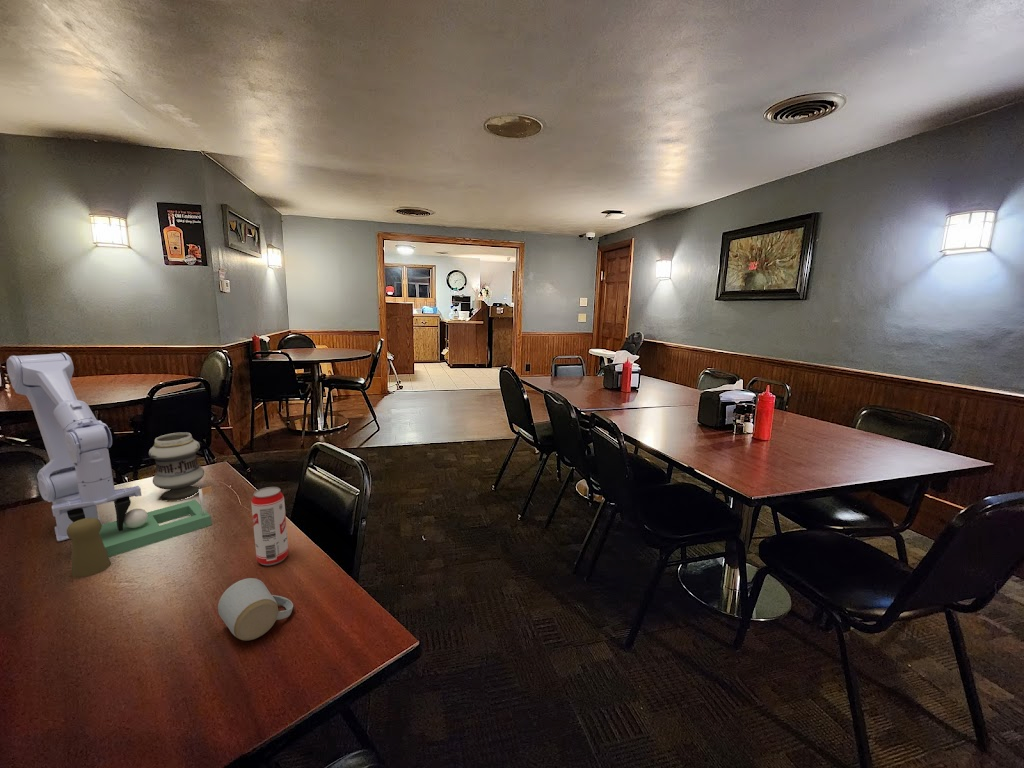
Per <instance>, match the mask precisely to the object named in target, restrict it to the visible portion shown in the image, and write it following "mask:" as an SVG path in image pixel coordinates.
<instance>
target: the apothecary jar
mask: <svg viewBox="0 0 1024 768" xmlns="http://www.w3.org/2000/svg"><path fill="white" fill-rule="evenodd" d="M200 449H201V445H200V442H199V441H197V440H196V439H194V438H193V436H192V434H191V433H190V432H187V431H186V432H180V431H179V432H173V433H167V434H164V435H162V434H161V435H160V436H158V437H155V439H154V443H153V445H152V447H150V449H149V451H148V456H149V457H150V458H151V459H153V460H155V461H154V463H155V468H156V473H155V474H154V476H153V478H152V484H153V485H154V486H155V487H156V488H158V489H161V490H166V491H165V492H163V493H162V494H161V495H160V496H159V499H160V501H166V502H169V501H171V502H178V501H177V500H180V501H182V500H181V499H185V498H187V497H190V496H192V495H194V494H195V493H197V492H198V491H199V490H198V489H200V488H201V487H200V486H198V487H197V485H195V484H196V483H198V482H199V481H201V480H202V478H203V477H204V475H205V469H204V468H203V467H202V466H201V465H199V463H198V457H197V452H199V450H200ZM199 487H200V488H199ZM185 500H186V499H185Z"/></svg>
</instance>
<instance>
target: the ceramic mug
mask: <svg viewBox="0 0 1024 768" xmlns="http://www.w3.org/2000/svg"><path fill="white" fill-rule="evenodd" d="M279 606H281V607H284V608H285V610H279ZM293 610H294V603H293V602H292V600H290V599H289V598H287V597H285V596H280V595H275V594H271V592H270V591H269V589H268V588H267V586H266V585H265V583H264V582H263V581H262V580H260V579H259V578H255V577H254V578H252V577H249V578H243V579H241V580H238V581H236V582H234V583H233V584H230V586H228V587H227V588H226V590H225V591H223V593H222V594H221V596H220V598H219V601H218V605H217V611H218V616H219V617H220V618H221V620H222V621H223V623H224V624H225V625H226V627H227V628H228V630H229V631H230V633H231V634H232V635H233V636H234V637H235V638H237V639H239V640H241V641H245V642H246V641H253V640H256V639H258V638H260V637H262V636H263V635H265V634H266V633H267V632H269V631H270V629H271V628H272V627H273V626H274V625H275V623H276V621H280V620H283V619H287V618H288V617H290V616H291V614H292V611H293Z"/></svg>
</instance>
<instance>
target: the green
mask: <svg viewBox="0 0 1024 768" xmlns="http://www.w3.org/2000/svg"><path fill="white" fill-rule="evenodd" d="M204 511H205V515H203V516H202V515H201V506H200V502H198V500H196V499H192V500H189V501H185V502H181V503H177V504H174V505H173V504H172V505H169V506H166V507H163V508H159V509H155V510H151V511H146V512H147V514H148V519H147V521H146V522H145V524H143V525H142V526H140V527H137V528H129V527H127V526H125V524H124V523H123V530H121V531H119V530H118V528H117V520H113V521H110V522H107V523H102V528H101V530H100V532H99V533H100V536H101V538H102V541H103V544H104V546H105V549H106V552H107V554H108V557H109V558H111V557H114V556H117V555H121V554H124V553H126V552H130V551H133V550H136V549H139V548H142V547H146V546H149V545H153V544H155V543H159V542H161V541H165V540H168V539H171V538H173V537H177V536H178V537H179V536H181V535H185V534H188V533H190V532H194V531H197V530H201V529H203V528H206V527H210V526H212V525H213V524H212V517H211V515H210V514H209V512H208V511H207V510H206V509H205V508H204ZM189 514H190V515H191V516H190V515H189ZM188 515H189V516H188ZM185 516H188V517H185ZM182 517H183V518H182ZM180 518H181V519H180ZM176 519H178V520H176ZM172 520H174V521H172ZM168 521H169V522H168ZM170 521H172V522H170ZM165 522H166V523H165ZM167 522H168V523H167ZM162 523H163V524H162Z"/></svg>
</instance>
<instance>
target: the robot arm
mask: <svg viewBox="0 0 1024 768" xmlns="http://www.w3.org/2000/svg"><path fill="white" fill-rule="evenodd" d="M74 371H75V368H74V363H73V360H72V357H71V356H70V355H69V354H67V353H66V352H60V353H47V354H31V355H27V354H26V355H9V357H8V358H7V359H6V372H7V374H8V378H9V381H10V384H11V387H12V389H13V390H14V393H16V394H18V395H23V396H26V397H27V399H28V402H29V404H30V405H31V408H32V411H33V413H34V417H35V420H36V422H37V423H36V424H37V426H38V429H39V431H40V435H41V437H42V438H41V439H42V440H43V444H44V447H45V450H46V453H47V455H48V459H49V461H48V463H46V464H45V465H44V466H42V468H41V469H39V470H38V471H37V472H38V473H37V475H36V478H37V483H38V491H39V494H40V495H41V498H42V499H43V501H46V502H48V503H52V505H51V511H52V516H53V517H55V518H54V519H55V522H56V523H55V524H56V526H54V533H55V535H56V536H55V537H56V541H57V542H63V541H65V540H71V539H70V538H69V537H68V535H67V532H66V531H67V528H68V526H69V525H70V524H72V523H73V522H75V521H78V520H81V519H85V518H97V519H99V520H100V522H101V524H103V523H102V521H101V517H100V516H99V514H98V507H97V506H100V505H104V504H108V503H112V502H113V503H114V504H113V505H114V510H115V516H116V521H117V528H118V530H119V531H121V530H123V523H124V518H125V515H126V513H127V512H128V509H129V508H130V506H131V502H132V501H131V499H130V498H133V497H140V496H142V490H141V487H140V485H136V486H131V487H124V488H118V489H115V484H114V477H113V472H112V463H111V459H110V453H109V448H111V447H112V445H113V436H112V432H111V430H110V428H109V426H108V425H107V423H104V422H103V421H102V420H98V419H97V418H96V416H95V414H94V413H93V411H92V409H91V408H90V405H88V403H87V402H85V401H84V400H79V399H78V398H77V395H76V393H75V391H74V390H75V389H73V387H72V384H71V381H72V378H73V374H74Z"/></svg>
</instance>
